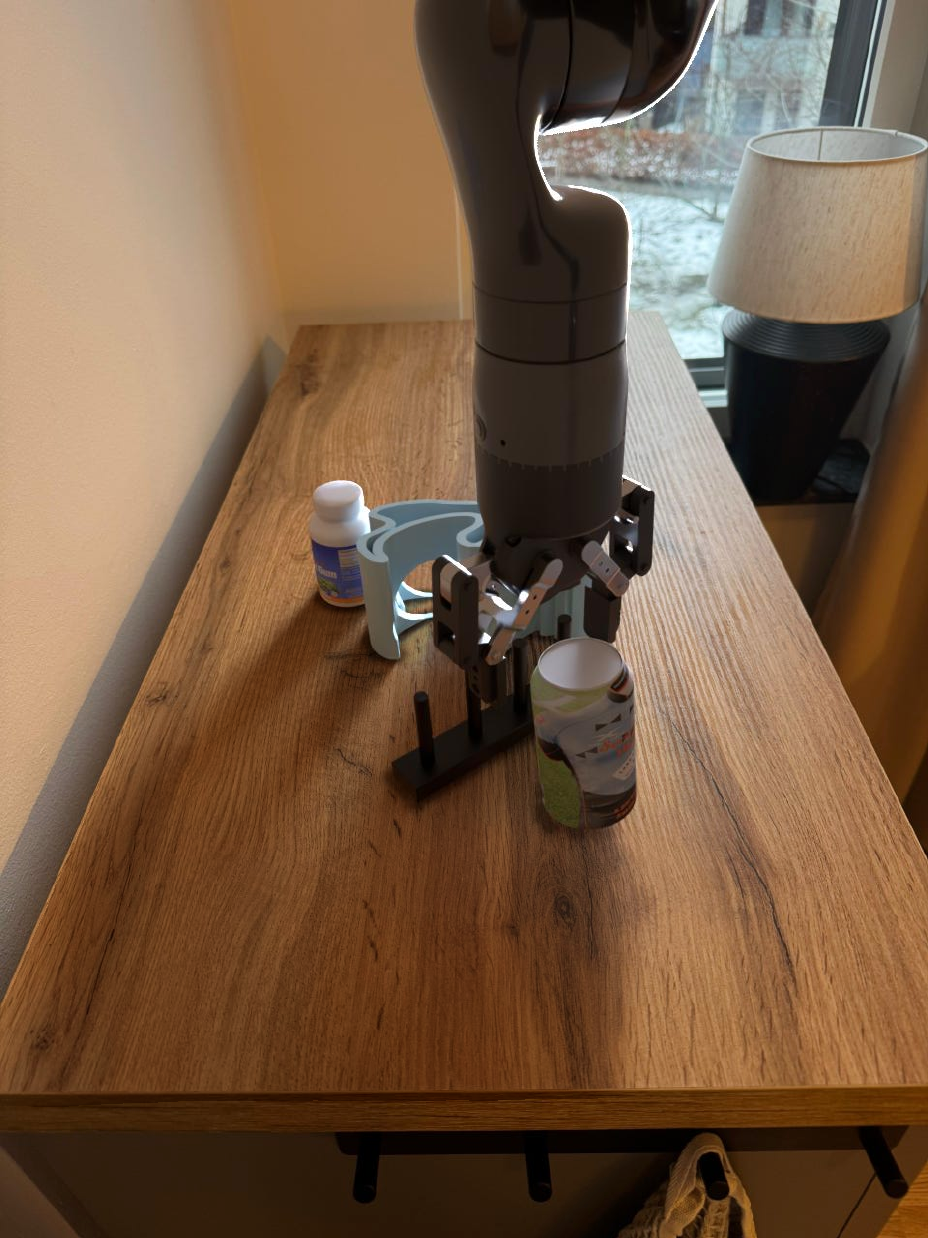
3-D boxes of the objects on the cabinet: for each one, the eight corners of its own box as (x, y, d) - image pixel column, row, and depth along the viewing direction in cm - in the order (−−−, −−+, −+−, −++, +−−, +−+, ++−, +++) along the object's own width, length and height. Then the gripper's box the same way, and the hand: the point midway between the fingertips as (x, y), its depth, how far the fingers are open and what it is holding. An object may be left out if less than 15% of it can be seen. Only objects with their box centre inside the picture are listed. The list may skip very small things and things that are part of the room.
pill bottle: (309, 584, 80) (291, 488, 74) (365, 564, 82) (352, 468, 76) (335, 617, 76) (318, 518, 70) (393, 595, 78) (381, 497, 72)
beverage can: (621, 854, 56) (647, 716, 49) (508, 819, 59) (516, 681, 51) (643, 782, 61) (670, 645, 54) (538, 752, 63) (549, 616, 56)
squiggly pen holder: (583, 583, 78) (588, 489, 72) (602, 661, 70) (608, 562, 64) (372, 596, 78) (359, 503, 72) (368, 675, 70) (352, 577, 64)
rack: (596, 696, 67) (601, 616, 63) (417, 803, 60) (407, 723, 56) (569, 674, 69) (571, 596, 65) (392, 776, 62) (381, 697, 58)
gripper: (481, 503, 40) (492, 759, 50) (706, 403, 46) (676, 649, 56) (387, 442, 45) (415, 687, 55) (602, 359, 51) (591, 592, 61)
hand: (547, 667), depth 55 cm, fingers open, 8 cm apart
